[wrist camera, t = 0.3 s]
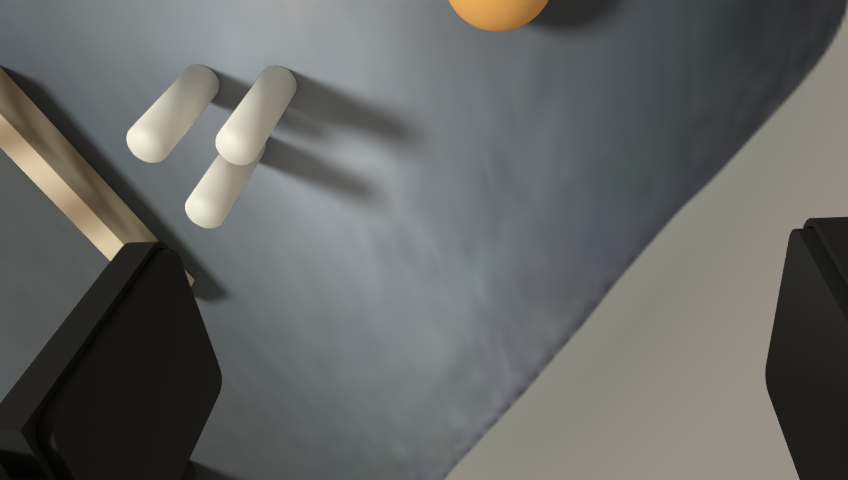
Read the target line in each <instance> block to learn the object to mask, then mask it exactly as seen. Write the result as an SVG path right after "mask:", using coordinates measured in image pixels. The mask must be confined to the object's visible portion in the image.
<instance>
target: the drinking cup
mask: <svg viewBox="0 0 848 480" xmlns="http://www.w3.org/2000/svg"><path fill="white" fill-rule="evenodd" d="M194 478H195V470H194V468H193V466H192V465H191V464H190V463H189V462H188V463H187V465H186V467H185V469H184V472H183V474H182V476H181V478H180V480H194Z"/></svg>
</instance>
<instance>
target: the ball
mask: <svg viewBox="0 0 848 480" xmlns="http://www.w3.org/2000/svg"><path fill="white" fill-rule="evenodd" d="M548 1H549V0H449V2H450V4H451V5H452V7H453V8H454V10H455V11H456V12H457V13H458V15H459V16H460V17H462V18H463V19H464V20H465V21H467V22H468V23H469V24H471V25H473V26H475V27H477V28H480V29H483V30H487V31H495V32H500V31H508V30H512V29H516V28H519V27H521V26H523V25H525V24H527V23H528V22H530V21H531V20H532V19H534V18H535V17H536V16H537V15H538V14H539V13H540V12H541V11H542V9H543V8H544V7H545V6H546V4H547V2H548Z"/></svg>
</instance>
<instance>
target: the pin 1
mask: <svg viewBox="0 0 848 480" xmlns="http://www.w3.org/2000/svg"><path fill="white" fill-rule="evenodd" d="M218 91H219V80H218V78H217V76H216V74H215V73H214V72H213V71H212V70H211V69H209V68H208V67H206V66H203V65H192V66H190V67H188V68H187V69H186V70H185V71H184V72H183V73H182V75H181V76H180V77H179V78H178V79H177V80H176V81H175V82H174V83H173V84H172V85H171V86H170V87H169V88H168V89H167V90H166V91H165V93H164V94H163V95H162V96H161V97H160V98H159V99H158V100H157V101H156V102H155V103H154V104H153V105H152V106H151V107H150V108H149V110H148V111H147V112H146V113H145V114H144V115H143V116H142V117H141V118H140V119H139V120H138V121H137V122H136V123H135V124H134V125H133V126H132V128H131V129H130V130H129V131H128V133H127V144H128V147H129V148H130V150H131V151H132V153H133V154H134V155H135V156H137V157H138V158H139V159H141V160H143V161H146V162H150V163H157V162H160V161H162V160H164V159H165V158H166V157H167V156H168V154H169V153H170V152H171V151H172V149H173V148H174V147H175V146H176V144H177V143H178V142H179V141H180V139H181V138H182V137H183V136H184V134H185V133H186V132H187V131H188V129H189V128H190V127H191V126H192V124H193V123H194V122H195V121H196V119H197V118H198V117H199V116H200V115H201V113H202V112H203V111H204V110H205V108H206V107H207V106H208V105H209V103H210V102H211V101H212V100H213V98H214V97H215V96H216V95H217V93H218Z"/></svg>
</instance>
